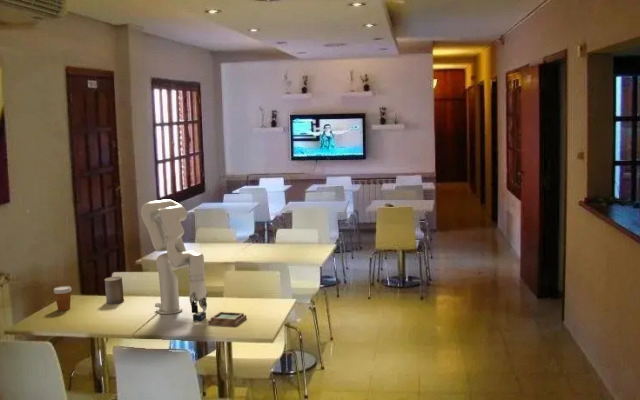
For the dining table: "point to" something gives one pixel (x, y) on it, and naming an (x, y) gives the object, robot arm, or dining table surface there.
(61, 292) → the disposable coffee cup
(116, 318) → the dining table surface
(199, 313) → the watch
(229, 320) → the stand
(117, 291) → the pillar candle
